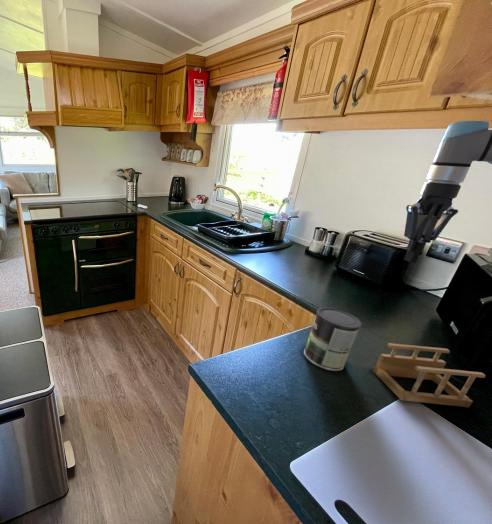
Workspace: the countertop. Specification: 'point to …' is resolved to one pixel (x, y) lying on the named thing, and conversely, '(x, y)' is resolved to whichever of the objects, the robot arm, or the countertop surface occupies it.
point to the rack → (423, 376)
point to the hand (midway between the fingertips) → (409, 261)
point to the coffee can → (331, 338)
